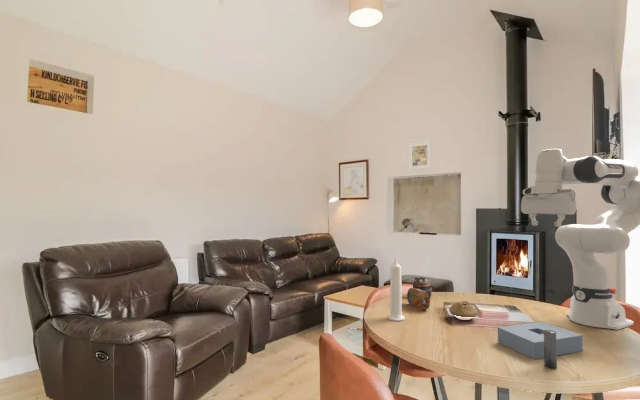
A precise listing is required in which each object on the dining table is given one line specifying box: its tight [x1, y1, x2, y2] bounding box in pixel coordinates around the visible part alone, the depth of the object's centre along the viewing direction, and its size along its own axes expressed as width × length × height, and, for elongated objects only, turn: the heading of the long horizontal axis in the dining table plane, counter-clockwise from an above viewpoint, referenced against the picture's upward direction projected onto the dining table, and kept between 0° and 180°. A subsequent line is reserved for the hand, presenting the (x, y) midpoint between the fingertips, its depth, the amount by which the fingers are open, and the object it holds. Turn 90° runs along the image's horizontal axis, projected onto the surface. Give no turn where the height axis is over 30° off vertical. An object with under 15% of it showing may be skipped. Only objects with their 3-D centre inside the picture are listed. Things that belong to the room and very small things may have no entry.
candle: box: [387, 257, 406, 322], centre depth 142 cm, size 7×7×25 cm
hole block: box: [497, 321, 584, 360], centre depth 113 cm, size 20×14×5 cm
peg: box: [543, 330, 558, 370], centre depth 99 cm, size 3×3×10 cm
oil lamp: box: [448, 300, 479, 318], centre depth 143 cm, size 11×15×8 cm
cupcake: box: [412, 277, 433, 299], centre depth 177 cm, size 10×10×10 cm
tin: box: [406, 287, 431, 311], centre depth 158 cm, size 15×3×8 cm, turn 17°
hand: (545, 226), depth 131 cm, fingers open, 8 cm apart
